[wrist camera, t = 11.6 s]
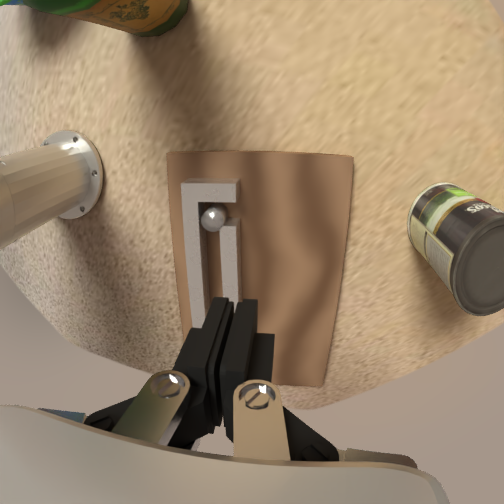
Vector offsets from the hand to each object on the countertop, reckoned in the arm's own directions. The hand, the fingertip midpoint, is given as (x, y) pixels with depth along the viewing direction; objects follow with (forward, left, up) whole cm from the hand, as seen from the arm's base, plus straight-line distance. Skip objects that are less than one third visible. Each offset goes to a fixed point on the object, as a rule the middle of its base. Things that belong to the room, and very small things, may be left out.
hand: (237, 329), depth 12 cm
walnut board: (-2, -13, -27) cm, 30 cm away
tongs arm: (-5, -14, -25) cm, 30 cm away
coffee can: (+22, -3, -27) cm, 35 cm away
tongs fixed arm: (-6, -13, -26) cm, 29 cm away
